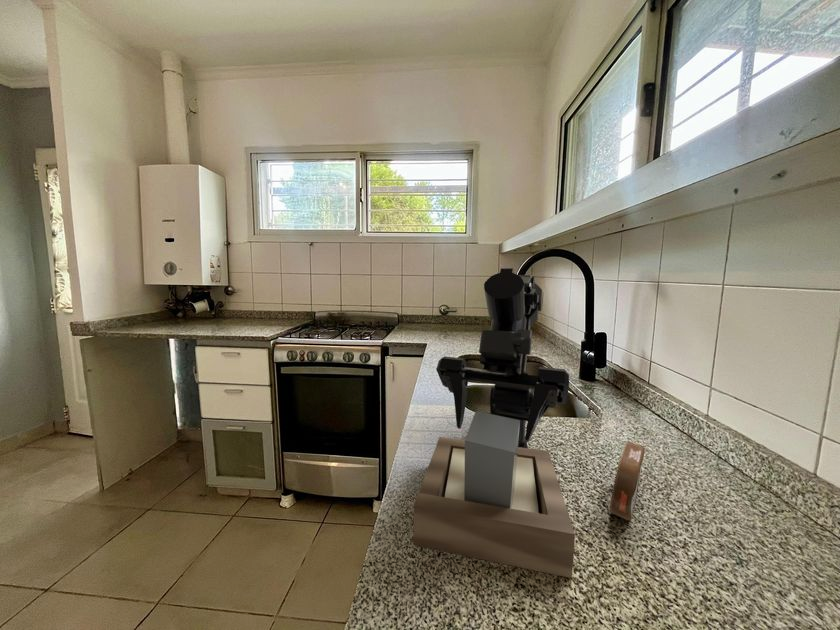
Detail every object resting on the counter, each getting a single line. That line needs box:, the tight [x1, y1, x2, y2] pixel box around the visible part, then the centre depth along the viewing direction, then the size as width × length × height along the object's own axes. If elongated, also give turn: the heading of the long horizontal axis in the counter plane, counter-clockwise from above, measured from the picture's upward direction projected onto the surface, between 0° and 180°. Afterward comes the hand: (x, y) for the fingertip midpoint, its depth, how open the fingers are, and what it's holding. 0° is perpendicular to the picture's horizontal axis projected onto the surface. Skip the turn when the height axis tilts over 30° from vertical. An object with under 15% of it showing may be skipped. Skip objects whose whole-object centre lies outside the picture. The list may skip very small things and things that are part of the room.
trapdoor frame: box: [412, 436, 576, 579], centre depth 48 cm, size 19×19×6 cm
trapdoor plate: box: [445, 448, 539, 513], centre depth 48 cm, size 13×13×1 cm
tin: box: [609, 440, 646, 521], centre depth 50 cm, size 15×3×8 cm, turn 141°
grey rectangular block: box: [464, 410, 520, 509], centre depth 44 cm, size 6×6×12 cm
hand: (491, 433), depth 44 cm, fingers open, 9 cm apart
